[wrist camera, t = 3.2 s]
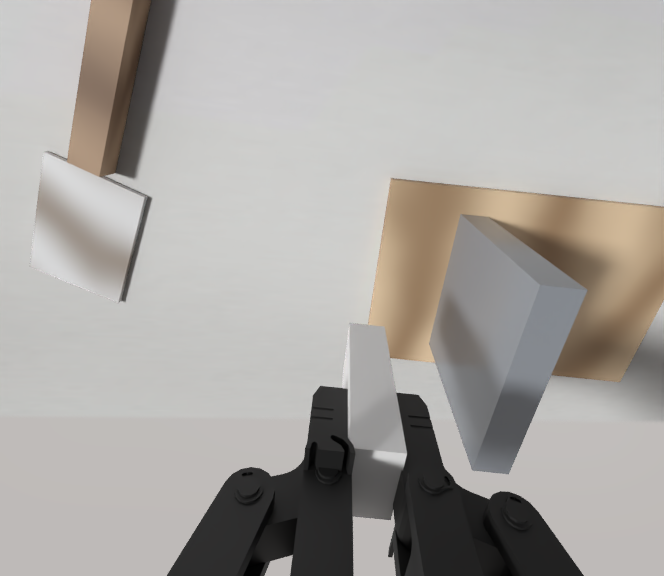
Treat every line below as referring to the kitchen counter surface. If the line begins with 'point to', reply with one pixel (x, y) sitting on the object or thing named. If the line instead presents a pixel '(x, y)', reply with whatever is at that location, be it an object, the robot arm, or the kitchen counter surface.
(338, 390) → the robot arm
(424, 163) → the kitchen counter surface
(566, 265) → the board
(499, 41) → the kitchen counter surface
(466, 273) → the tile
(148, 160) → the kitchen counter surface
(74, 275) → the turner
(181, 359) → the kitchen counter surface
